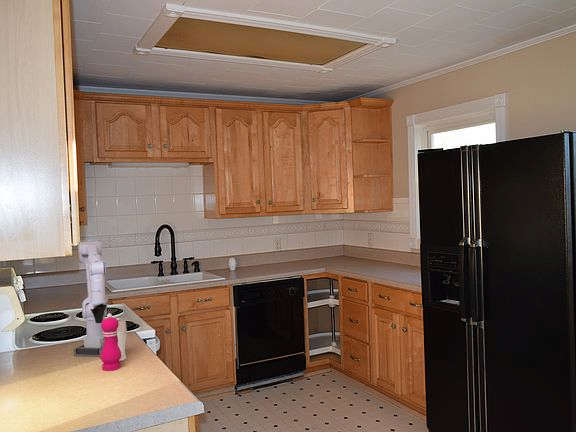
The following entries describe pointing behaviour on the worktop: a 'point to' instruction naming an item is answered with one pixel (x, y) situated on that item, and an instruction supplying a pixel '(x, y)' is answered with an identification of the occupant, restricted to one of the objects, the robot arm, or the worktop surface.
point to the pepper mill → (110, 344)
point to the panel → (93, 342)
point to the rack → (87, 351)
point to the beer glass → (121, 337)
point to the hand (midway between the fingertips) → (99, 322)
